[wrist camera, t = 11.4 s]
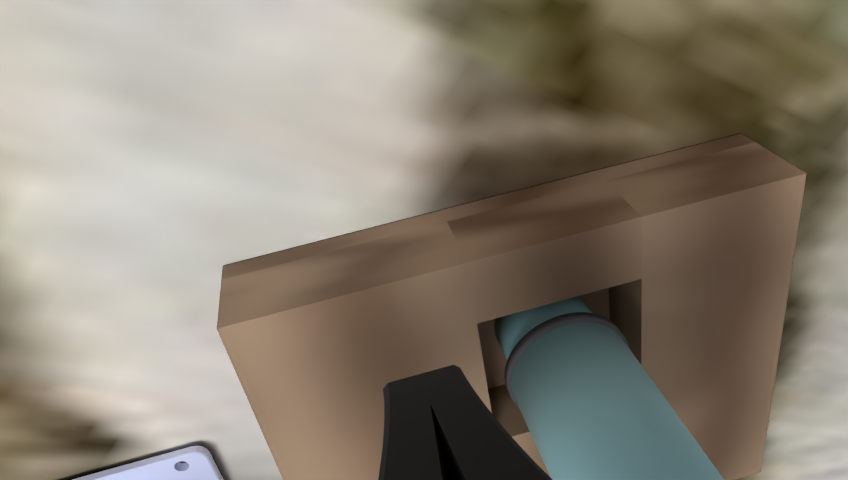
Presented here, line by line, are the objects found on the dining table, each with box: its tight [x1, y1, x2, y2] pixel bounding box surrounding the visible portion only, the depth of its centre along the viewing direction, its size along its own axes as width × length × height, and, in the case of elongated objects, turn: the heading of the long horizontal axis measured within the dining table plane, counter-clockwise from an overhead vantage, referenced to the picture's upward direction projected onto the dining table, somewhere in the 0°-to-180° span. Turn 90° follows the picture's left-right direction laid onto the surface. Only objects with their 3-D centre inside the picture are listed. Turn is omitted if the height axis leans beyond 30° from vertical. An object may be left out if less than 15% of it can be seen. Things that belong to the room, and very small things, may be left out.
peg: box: [494, 296, 724, 480], centre depth 21 cm, size 4×4×9 cm
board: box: [217, 134, 806, 480], centre depth 25 cm, size 18×14×3 cm
